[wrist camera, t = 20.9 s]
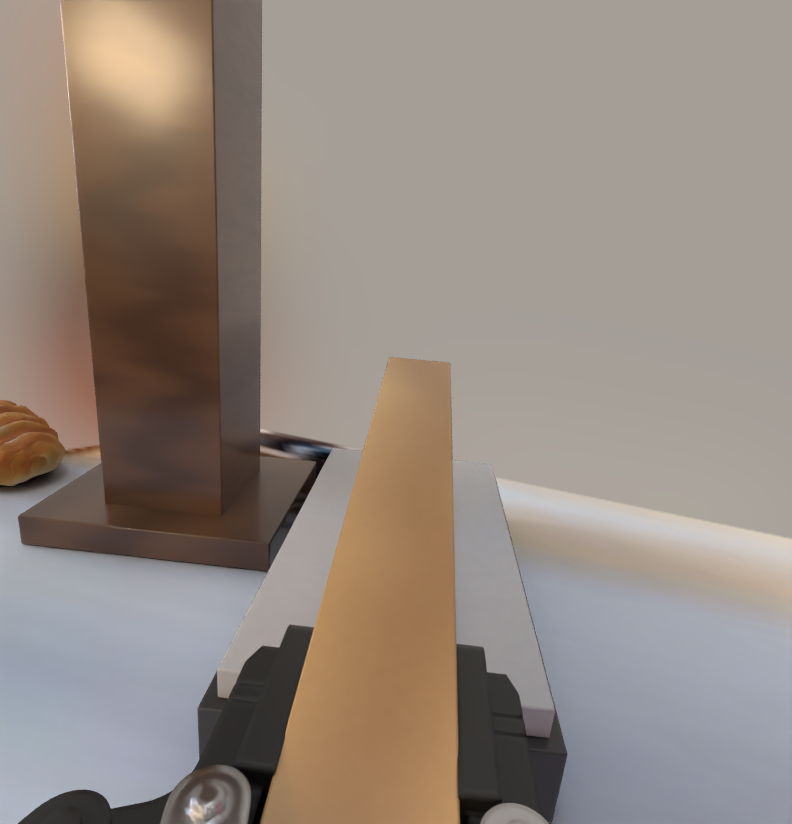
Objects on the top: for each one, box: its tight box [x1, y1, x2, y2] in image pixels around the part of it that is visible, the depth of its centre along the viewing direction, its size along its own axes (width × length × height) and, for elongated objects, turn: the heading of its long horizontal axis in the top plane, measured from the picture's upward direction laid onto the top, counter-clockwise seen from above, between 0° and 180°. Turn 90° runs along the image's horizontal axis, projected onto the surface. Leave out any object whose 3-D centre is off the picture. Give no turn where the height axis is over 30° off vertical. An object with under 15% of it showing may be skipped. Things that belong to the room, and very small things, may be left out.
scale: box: [198, 448, 567, 822], centre depth 23 cm, size 10×18×4 cm, turn 176°
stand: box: [18, 0, 316, 571], centre depth 25 cm, size 12×10×32 cm
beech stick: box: [260, 357, 460, 824], centre depth 17 cm, size 3×22×3 cm, turn 176°
